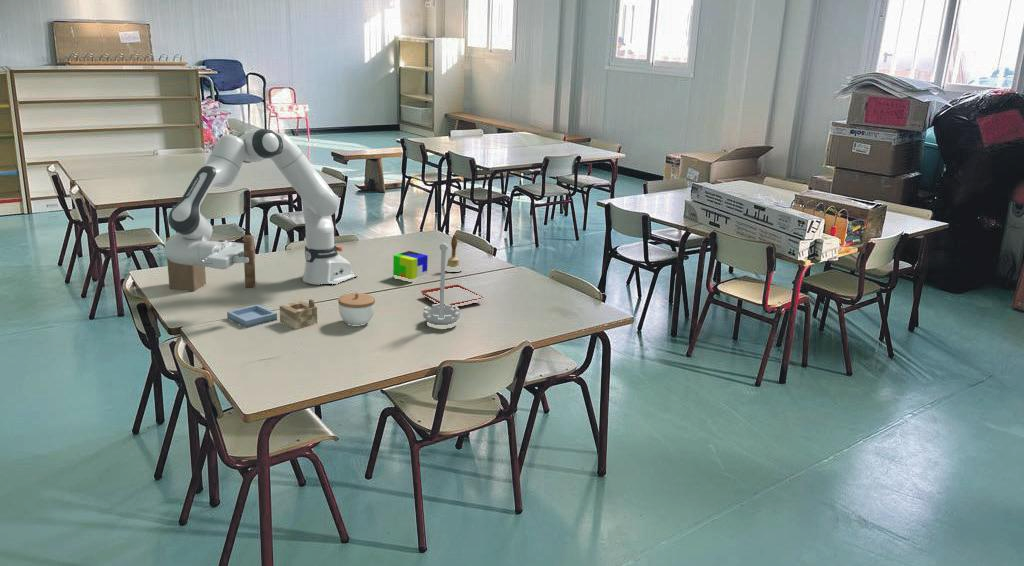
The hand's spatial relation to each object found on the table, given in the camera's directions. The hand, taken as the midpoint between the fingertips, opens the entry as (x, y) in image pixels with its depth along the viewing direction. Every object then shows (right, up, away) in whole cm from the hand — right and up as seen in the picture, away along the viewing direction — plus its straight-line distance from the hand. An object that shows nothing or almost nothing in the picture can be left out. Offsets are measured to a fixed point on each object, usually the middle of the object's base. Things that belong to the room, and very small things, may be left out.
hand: (251, 258), depth 269 cm
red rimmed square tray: (+65, -16, +38) cm, 77 cm away
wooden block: (-36, -10, +36) cm, 52 cm away
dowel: (-2, -10, +3) cm, 11 cm away
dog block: (+14, -22, +6) cm, 27 cm away
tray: (-2, -21, +7) cm, 22 cm away
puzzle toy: (+46, -7, +63) cm, 78 cm away
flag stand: (+63, -23, +14) cm, 69 cm away
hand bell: (+63, -3, +77) cm, 99 cm away
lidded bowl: (+34, -23, +9) cm, 42 cm away
